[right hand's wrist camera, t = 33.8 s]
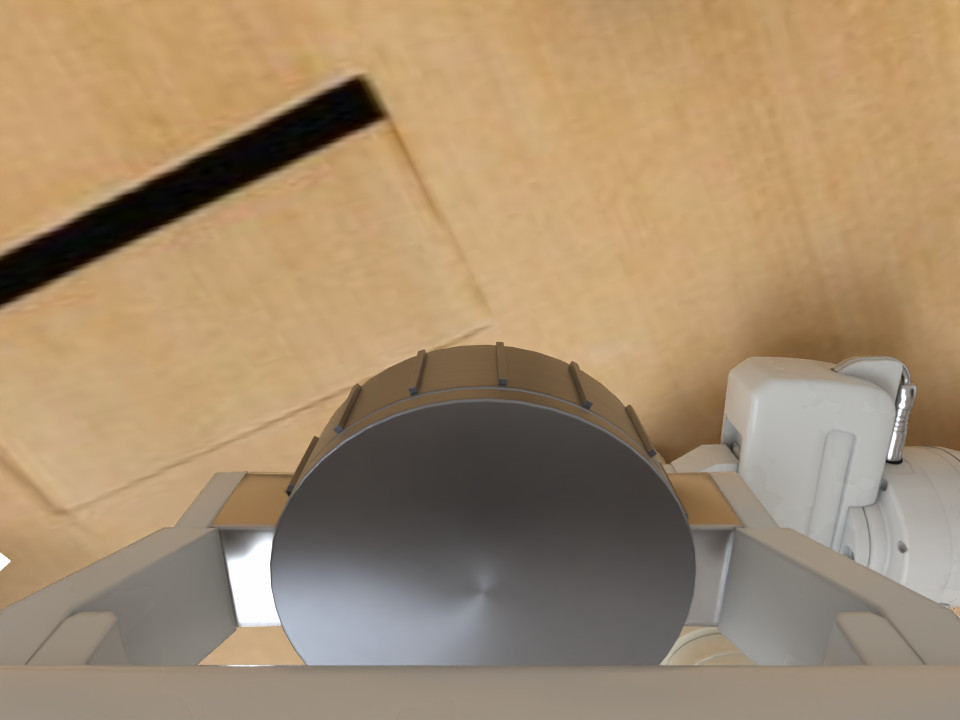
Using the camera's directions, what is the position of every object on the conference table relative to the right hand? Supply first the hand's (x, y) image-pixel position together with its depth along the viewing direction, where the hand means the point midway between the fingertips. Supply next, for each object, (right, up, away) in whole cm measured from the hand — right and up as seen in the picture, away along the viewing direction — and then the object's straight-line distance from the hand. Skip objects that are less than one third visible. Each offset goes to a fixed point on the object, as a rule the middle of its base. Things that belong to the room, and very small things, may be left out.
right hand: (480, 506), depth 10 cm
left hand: (+9, -7, +24) cm, 27 cm away
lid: (0, -1, -2) cm, 2 cm away
